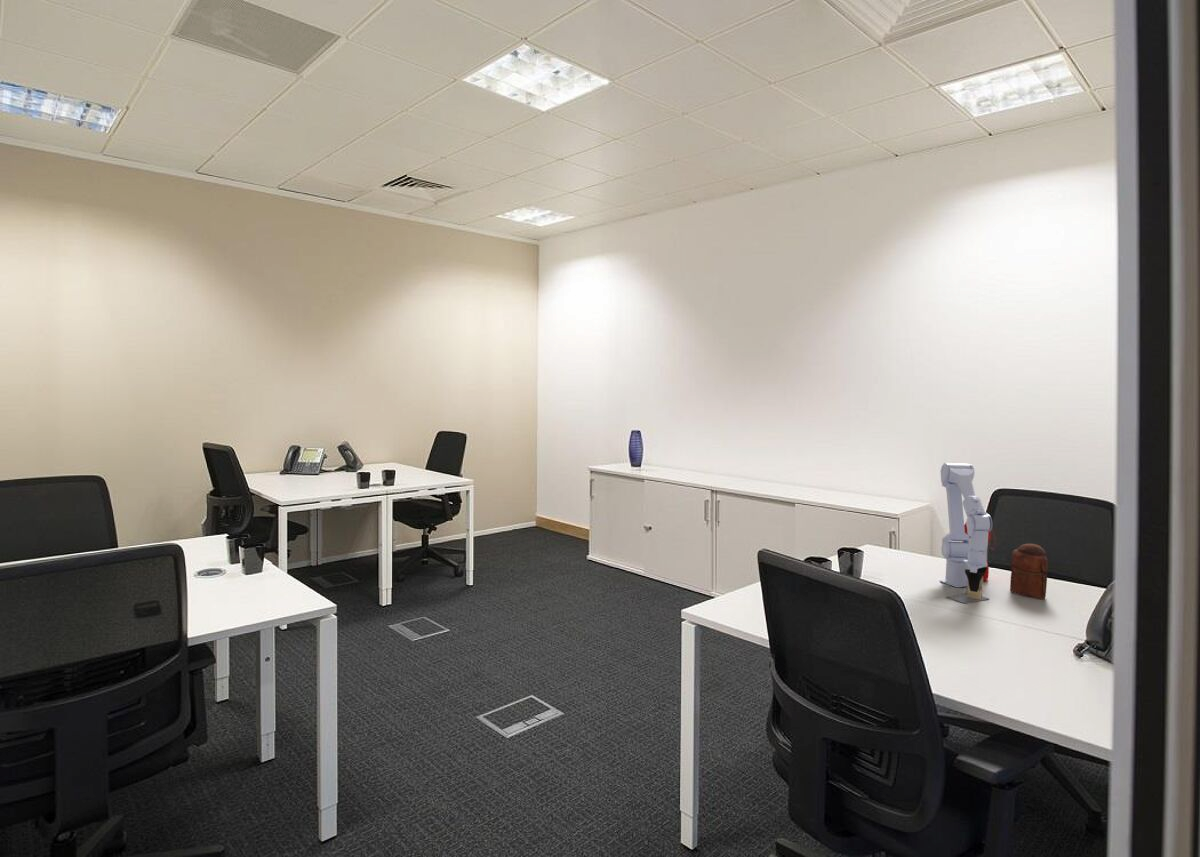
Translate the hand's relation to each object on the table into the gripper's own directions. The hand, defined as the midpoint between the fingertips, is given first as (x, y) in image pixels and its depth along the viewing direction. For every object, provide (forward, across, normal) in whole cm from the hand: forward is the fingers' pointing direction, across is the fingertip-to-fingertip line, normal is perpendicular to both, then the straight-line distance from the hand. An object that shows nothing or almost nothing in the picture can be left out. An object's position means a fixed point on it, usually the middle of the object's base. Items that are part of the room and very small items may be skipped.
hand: (975, 588), depth 231 cm
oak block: (+3, 0, 0) cm, 3 cm away
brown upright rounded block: (+3, -16, +14) cm, 22 cm away
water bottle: (+3, -26, -3) cm, 27 cm away
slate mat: (+3, +2, -2) cm, 4 cm away
